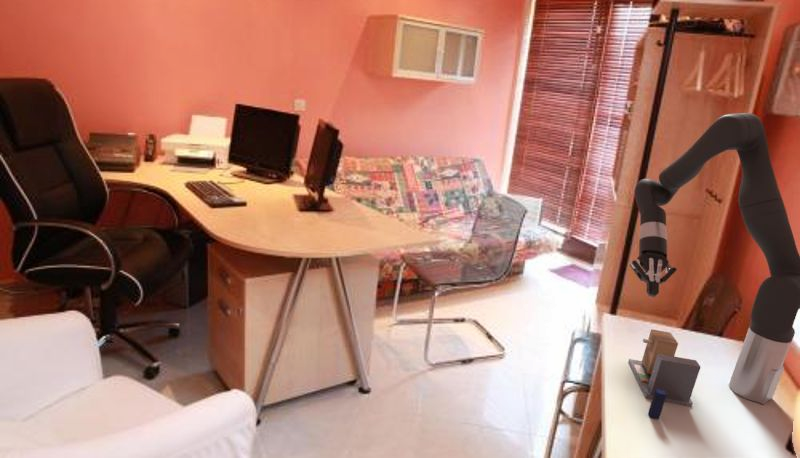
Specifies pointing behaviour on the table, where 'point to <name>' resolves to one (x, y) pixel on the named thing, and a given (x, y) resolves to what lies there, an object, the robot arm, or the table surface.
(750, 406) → the table surface
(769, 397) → the robot arm
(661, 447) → the table surface
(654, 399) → the eraser
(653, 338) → the block
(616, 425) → the table surface
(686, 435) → the table surface
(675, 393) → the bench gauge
